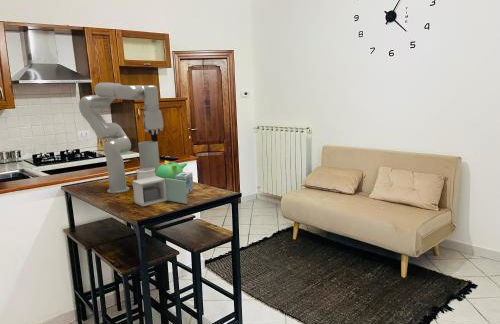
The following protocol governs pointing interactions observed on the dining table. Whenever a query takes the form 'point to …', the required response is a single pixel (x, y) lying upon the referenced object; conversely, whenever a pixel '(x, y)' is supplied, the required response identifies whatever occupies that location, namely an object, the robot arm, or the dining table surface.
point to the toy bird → (169, 170)
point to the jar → (145, 173)
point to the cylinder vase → (149, 155)
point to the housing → (149, 190)
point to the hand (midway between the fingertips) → (154, 141)
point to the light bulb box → (188, 178)
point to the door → (176, 190)
